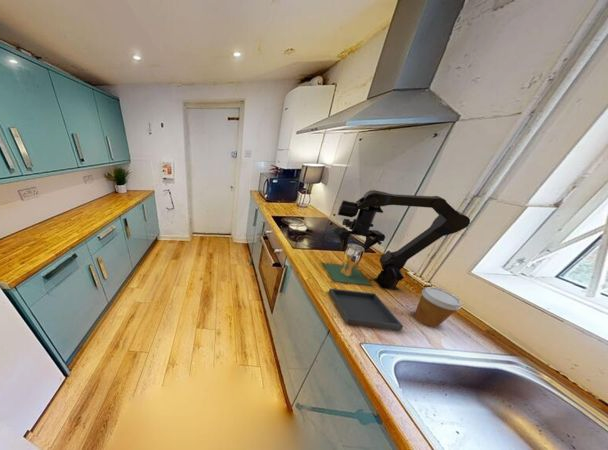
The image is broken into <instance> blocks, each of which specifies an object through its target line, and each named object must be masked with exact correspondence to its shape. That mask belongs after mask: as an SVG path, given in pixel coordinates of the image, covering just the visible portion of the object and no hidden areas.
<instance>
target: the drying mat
mask: <svg viewBox="0 0 608 450" xmlns="http://www.w3.org/2000/svg"><path fill="white" fill-rule="evenodd" d="M322 265H323V267H324V268H325V270H326V271H327V273H328V274H329V276H330V278H331V279H332V281H333V282H334V283H344V284H353V285H361V286H370V287H372V286H373V284H371V282H370V281H369V280H368V279H367V278H366V276H364V275H363V274H362V272H361V271H360V270H359V269H358V267H356V268H355V270H354V275H353V277H345V276H343V275H341V274H340V273H339V269H340V268H341V266H342V264H332V263H322Z"/></svg>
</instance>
